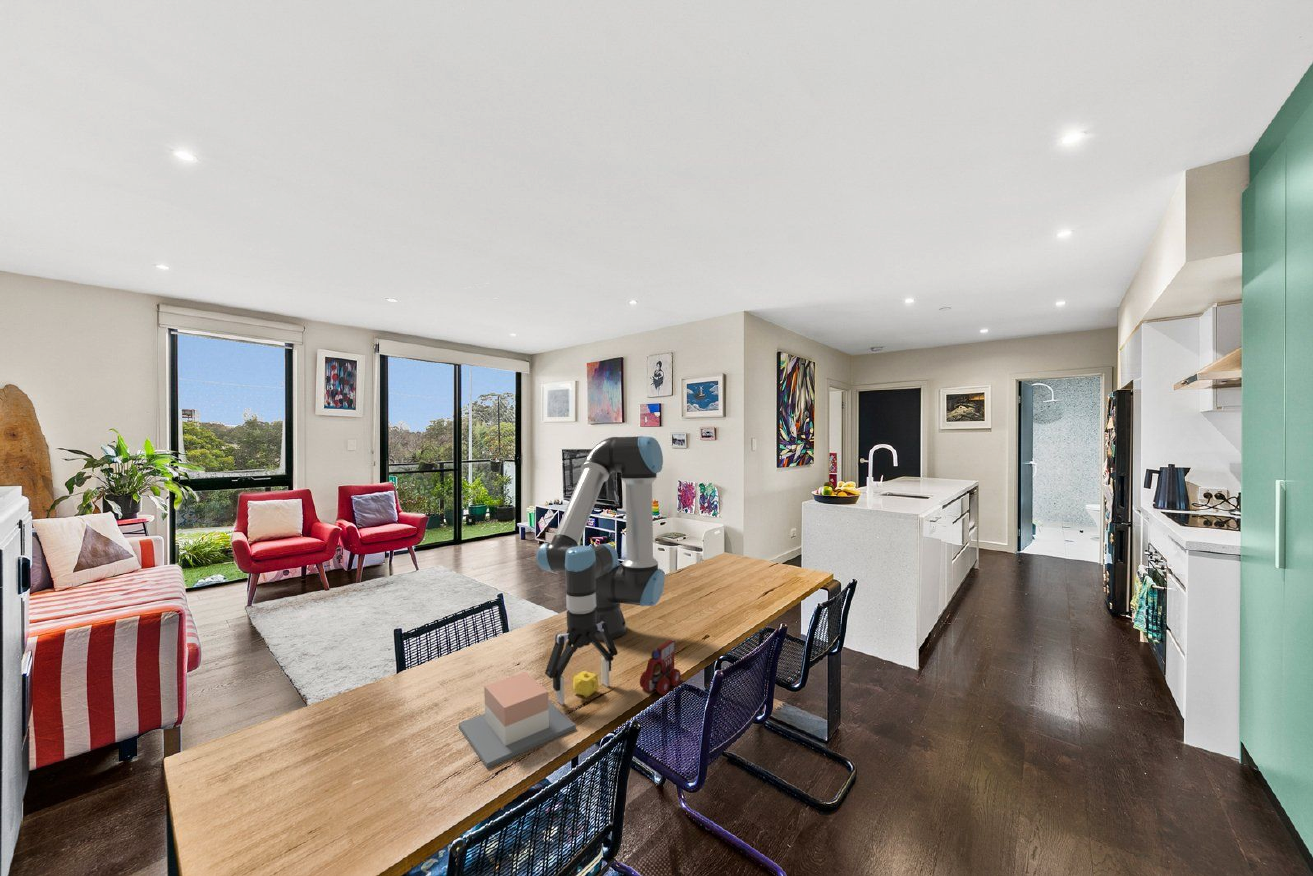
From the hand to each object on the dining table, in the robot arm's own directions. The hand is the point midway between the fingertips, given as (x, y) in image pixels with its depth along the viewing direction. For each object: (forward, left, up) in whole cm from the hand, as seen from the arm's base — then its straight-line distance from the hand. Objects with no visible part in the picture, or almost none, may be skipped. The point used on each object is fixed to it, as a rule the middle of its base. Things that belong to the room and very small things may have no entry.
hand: (583, 693), depth 126 cm
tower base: (+19, +3, 0) cm, 19 cm away
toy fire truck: (-17, +10, 0) cm, 20 cm away
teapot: (0, 0, 0) cm, 0 cm away
